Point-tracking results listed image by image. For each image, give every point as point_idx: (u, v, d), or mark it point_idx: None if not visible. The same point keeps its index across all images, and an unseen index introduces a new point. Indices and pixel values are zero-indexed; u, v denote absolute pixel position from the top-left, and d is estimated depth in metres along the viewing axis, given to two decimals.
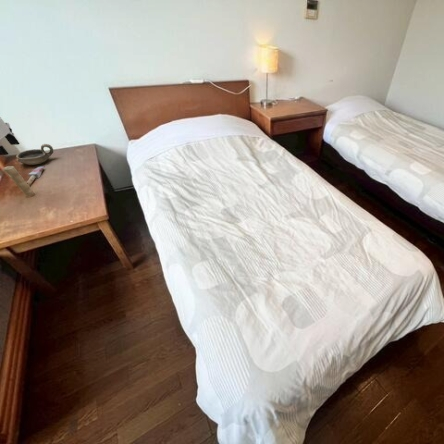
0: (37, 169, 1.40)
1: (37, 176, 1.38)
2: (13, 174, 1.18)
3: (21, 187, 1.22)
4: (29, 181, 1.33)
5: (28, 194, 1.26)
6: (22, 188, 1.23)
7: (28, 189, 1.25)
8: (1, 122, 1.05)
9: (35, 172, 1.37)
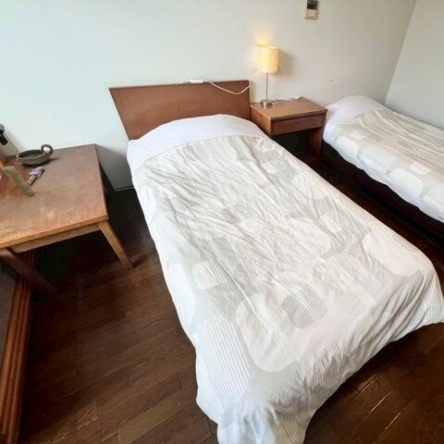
0: (37, 169, 1.40)
1: (37, 176, 1.38)
2: (13, 174, 1.18)
3: (21, 187, 1.22)
4: (29, 181, 1.33)
5: (28, 194, 1.26)
6: (22, 188, 1.23)
7: (28, 189, 1.25)
8: None
9: (35, 172, 1.37)
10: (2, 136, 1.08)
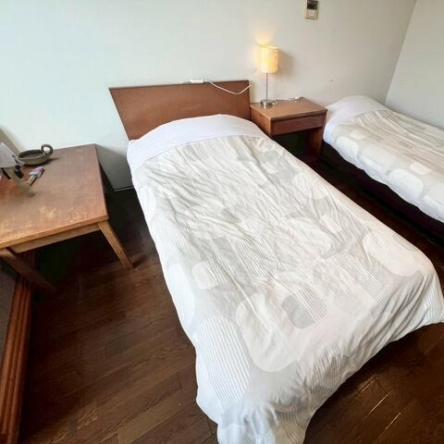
0: (37, 169, 1.40)
1: (37, 176, 1.38)
2: (13, 174, 1.18)
3: (21, 187, 1.22)
4: (29, 181, 1.33)
5: (28, 194, 1.26)
6: (22, 188, 1.23)
7: (27, 189, 1.24)
8: None
9: (35, 172, 1.37)
10: (19, 170, 1.19)
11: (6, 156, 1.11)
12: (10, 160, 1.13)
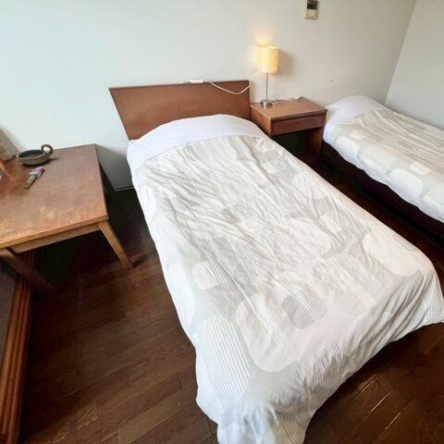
0: (37, 169, 1.40)
1: (37, 176, 1.38)
2: None
3: None
4: (29, 181, 1.33)
5: (5, 157, 1.17)
6: None
7: (4, 150, 1.16)
8: None
9: (35, 172, 1.37)
10: None
11: None
12: None
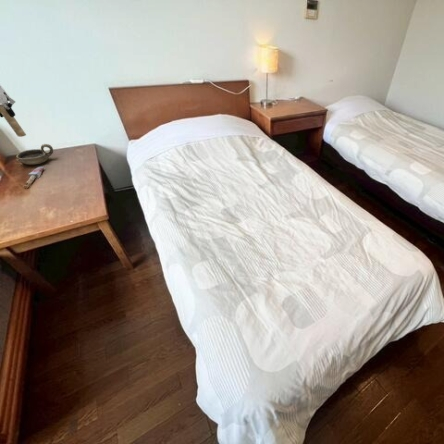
0: (37, 169, 1.40)
1: (37, 176, 1.38)
2: (5, 112, 1.27)
3: (13, 126, 1.32)
4: (29, 181, 1.33)
5: (19, 134, 1.35)
6: (14, 127, 1.32)
7: (19, 128, 1.34)
8: None
9: (35, 172, 1.37)
10: (10, 109, 1.28)
11: None
12: (2, 96, 1.22)
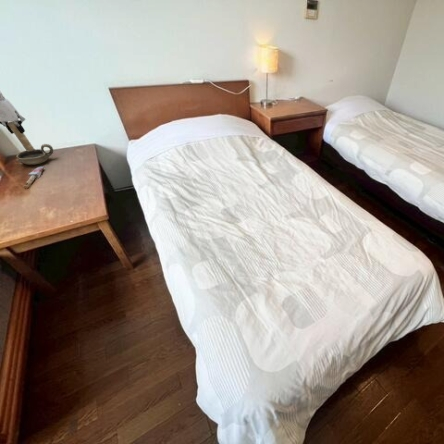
0: (37, 169, 1.40)
1: (37, 176, 1.38)
2: (15, 128, 1.34)
3: (22, 141, 1.39)
4: (29, 181, 1.33)
5: (28, 149, 1.42)
6: (23, 142, 1.39)
7: (28, 144, 1.41)
8: None
9: (35, 172, 1.37)
10: (20, 126, 1.35)
11: (9, 111, 1.28)
12: (13, 115, 1.29)
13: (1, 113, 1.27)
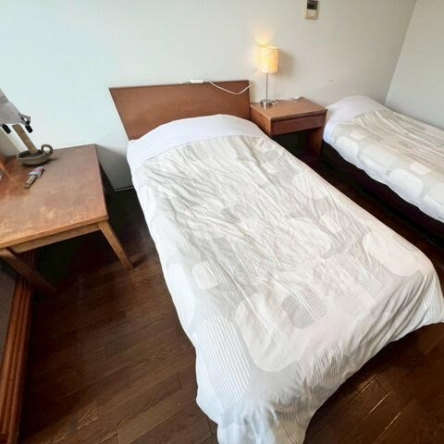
0: (37, 169, 1.40)
1: (37, 176, 1.38)
2: (19, 131, 1.35)
3: (26, 144, 1.40)
4: (29, 181, 1.33)
5: (32, 151, 1.43)
6: (27, 145, 1.41)
7: (32, 146, 1.42)
8: None
9: (35, 172, 1.37)
10: (29, 126, 1.36)
11: (13, 113, 1.29)
12: (17, 117, 1.30)
13: (5, 115, 1.28)
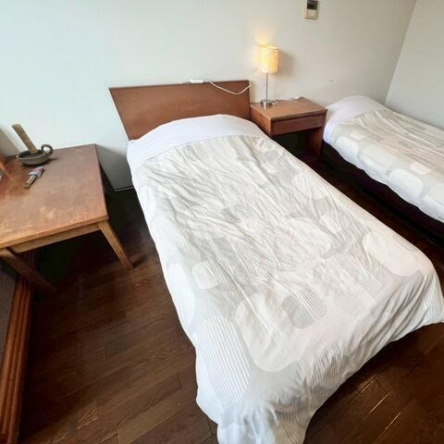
0: (37, 169, 1.40)
1: (37, 176, 1.38)
2: (19, 131, 1.35)
3: (26, 144, 1.40)
4: (29, 181, 1.33)
5: (32, 151, 1.43)
6: (27, 145, 1.40)
7: (32, 146, 1.42)
8: None
9: (35, 172, 1.37)
10: None
11: None
12: None
13: None
